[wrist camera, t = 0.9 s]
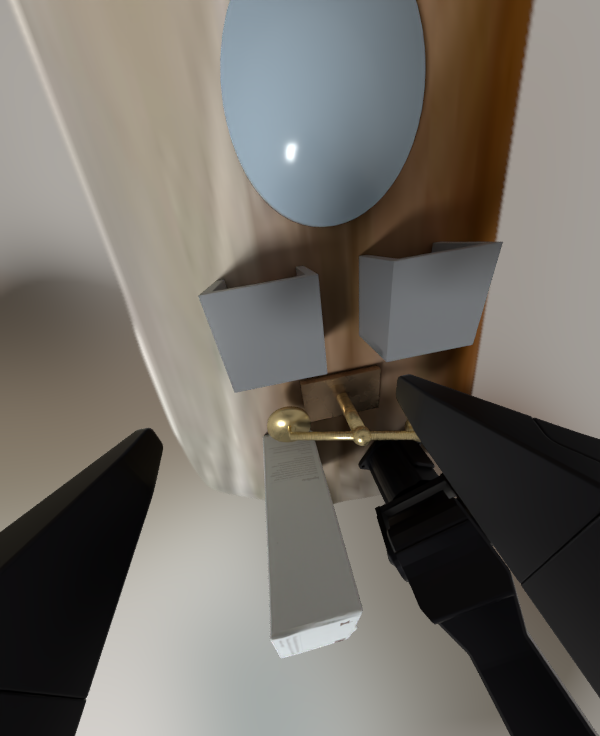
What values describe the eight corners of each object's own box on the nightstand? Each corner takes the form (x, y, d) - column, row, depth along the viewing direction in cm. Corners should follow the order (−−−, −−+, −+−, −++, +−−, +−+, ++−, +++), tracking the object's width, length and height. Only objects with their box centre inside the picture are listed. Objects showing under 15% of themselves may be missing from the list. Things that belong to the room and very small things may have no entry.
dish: (359, 252, 17) (364, 253, 16) (207, 181, 13) (203, 177, 12) (452, 39, 12) (467, 23, 11) (254, -151, 9) (253, -194, 8)
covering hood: (312, 344, 20) (327, 373, 15) (241, 358, 20) (234, 392, 15) (303, 265, 16) (318, 274, 12) (216, 280, 16) (198, 295, 12)
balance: (412, 357, 22) (477, 408, 16) (407, 395, 25) (460, 453, 18) (261, 388, 21) (261, 456, 15) (272, 424, 24) (275, 496, 17)
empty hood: (426, 322, 20) (472, 344, 16) (359, 335, 20) (386, 362, 16) (440, 241, 17) (502, 241, 13) (359, 256, 17) (393, 261, 12)
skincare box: (262, 433, 25) (261, 641, 12) (314, 426, 25) (367, 615, 12) (269, 478, 29) (275, 666, 16) (314, 471, 29) (354, 646, 17)
